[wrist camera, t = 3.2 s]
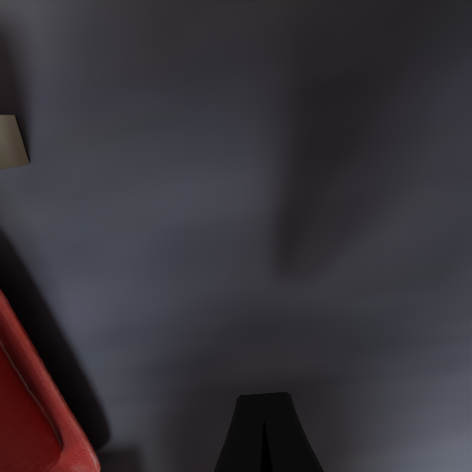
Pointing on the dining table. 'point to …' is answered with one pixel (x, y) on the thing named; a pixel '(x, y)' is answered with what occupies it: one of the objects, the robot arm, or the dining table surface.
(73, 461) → the butter dish
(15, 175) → the dining table surface
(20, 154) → the bar
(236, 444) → the robot arm
